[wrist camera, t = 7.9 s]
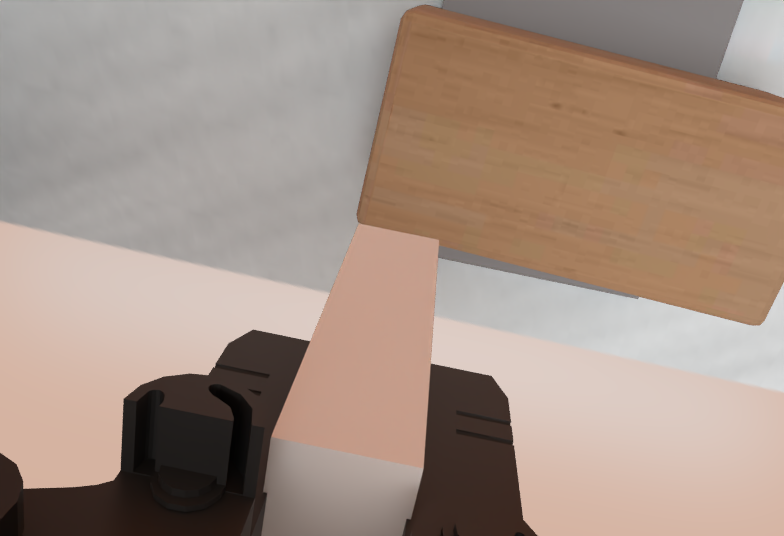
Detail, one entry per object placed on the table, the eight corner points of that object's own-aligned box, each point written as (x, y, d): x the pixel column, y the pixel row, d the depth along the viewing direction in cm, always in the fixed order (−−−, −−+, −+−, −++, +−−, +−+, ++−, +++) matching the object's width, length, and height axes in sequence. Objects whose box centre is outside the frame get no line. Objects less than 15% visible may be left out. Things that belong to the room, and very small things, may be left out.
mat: (395, 244, 45) (394, 248, 44) (464, -104, 37) (464, -106, 36) (635, 293, 44) (637, 298, 44) (754, -47, 37) (760, -48, 36)
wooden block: (417, 2, 39) (770, 92, 39) (376, 174, 42) (698, 257, 42) (402, 6, 29) (867, 125, 29) (352, 227, 33) (763, 332, 33)
